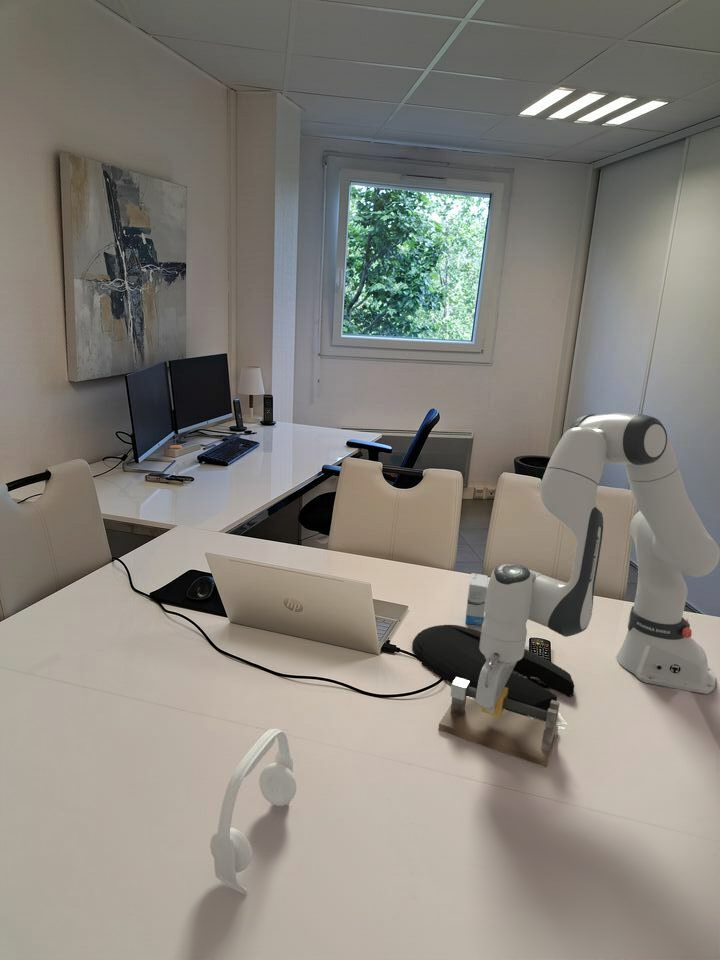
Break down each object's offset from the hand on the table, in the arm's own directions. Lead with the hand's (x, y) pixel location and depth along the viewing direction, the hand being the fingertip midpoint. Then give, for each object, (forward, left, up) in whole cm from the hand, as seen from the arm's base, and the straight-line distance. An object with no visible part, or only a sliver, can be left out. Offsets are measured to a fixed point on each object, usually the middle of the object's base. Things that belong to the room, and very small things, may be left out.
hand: (494, 703), depth 135 cm
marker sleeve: (0, 0, -1) cm, 1 cm away
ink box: (+17, -46, -6) cm, 50 cm away
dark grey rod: (-3, 0, -1) cm, 3 cm away
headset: (+25, +48, -6) cm, 55 cm away
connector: (+7, 0, -5) cm, 9 cm away
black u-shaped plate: (+7, -23, -7) cm, 25 cm away
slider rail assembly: (-2, 0, -6) cm, 6 cm away
